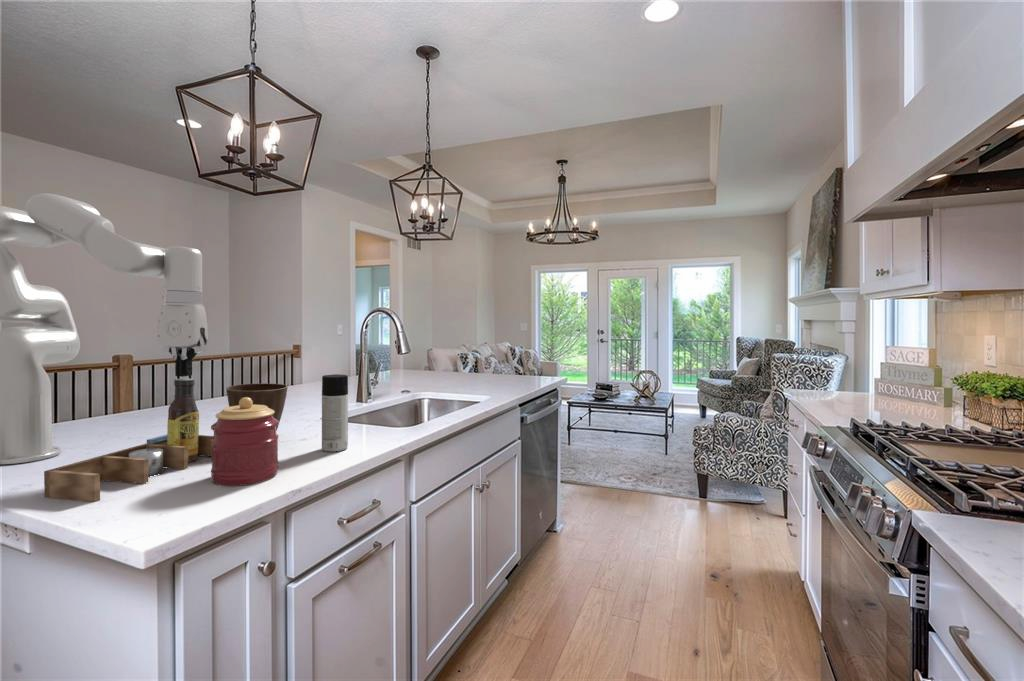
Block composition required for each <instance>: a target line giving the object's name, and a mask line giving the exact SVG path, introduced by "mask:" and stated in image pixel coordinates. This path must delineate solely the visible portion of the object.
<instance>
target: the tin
mask: <svg viewBox="0 0 1024 681" xmlns="http://www.w3.org/2000/svg"><path fill="white" fill-rule="evenodd" d="M129 457H130V458H143V459H148V477H149V478H151V477H150V476H154V475H157V476H159V475H158V474H160V475H162V474H163V473H164V468H163V449H159V448H151V449H142V450H137V451H133V452H131V453H129ZM162 472H163V473H162ZM161 473H162V474H161ZM154 477H155V476H154Z"/></svg>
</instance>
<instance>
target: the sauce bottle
mask: <svg viewBox="0 0 1024 681" xmlns="http://www.w3.org/2000/svg"><path fill="white" fill-rule="evenodd" d="M173 385H174V396H173V397H174V399H173V400H172V402H171V404H170V405H169V406H168V411H167V413H168V415H167V427H166V428H167V429H166V430H167V432H166V433H167V434H166V435H167V445H171V446H185V447H188V463H191V462H194V461H196V460H197V459H198V457H199V456H197V455H198V437H199V435H200V434H199V432H200V430H199V428H200V412H199V410H198V407H197V403H196V400H195V397H194V388H195V387H194V386H195V378H176V379H174V381H173Z"/></svg>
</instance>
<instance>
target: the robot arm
mask: <svg viewBox="0 0 1024 681" xmlns="http://www.w3.org/2000/svg"><path fill="white" fill-rule="evenodd" d="M69 243H73V244H75V245H77V246H79V247H81V248H82V250H83V251H84V252H85V253H86V254H87V256H88V257H89V258H91V259H93V260H95V261H96V262H98V263H100V264H102V265H104V266H106V267H108V268H111V269H112V270H113V271H117V272H119V273H122V274H125V275H129V276H135V277H136V276H137V277H146V278H150V279H151V278H152V279H163V285H164V286H163V288H164V289H163V290H164V291H163V292H164V293H163V295H162V297H161V298H162V299H163V304H161V305H160V308H159V314H158V318H157V327H156V328H157V329H156V342H157V345H159V346H160V347H161V349H162V350H163V352H168V353H170V354H171V357H172V359H173V360H174V361H175V364H174V366H175V368H174V369H175V371H174V374H175V377H180V378H183V377H191V376H193V360H194V359H195V358H196V356H197V355H198V354H199V353H203V352H205V351H206V350H207V349H206V346H207V344H208V339H209V337H208V336H209V332H208V331H209V330H208V320H207V313H206V309H205V308H206V307H205V306H204V305H203V254H202V252H201V251H200V250H199V249H197V248H193V247H189V246H188V247H187V246H176V245H175V246H173V245H172V246H167V247H166V248H164V247H161V246H155V245H151V244H148V243H146V244H145V243H142V242H137V241H136V242H135V241H134V240H130V239H127V238H125V237H123V236H122V235H119V234H117V233H116V231H115V227H114V225H113V223H112V221H111V220H109V219H108V218H106V217H104V216H102V214H101V213H100V212H99V210H97V208H95V207H94V206H92V205H91V204H90V203H87V202H84V201H81V200H78V199H74V198H71V197H67V196H64V195H59V194H57V193H48V192H46V193H45V192H44V193H42V192H41V193H39V194H38V193H37V194H35V195H32V196H30V198H29V199H27V201H26V204H25V210H21V209H17V208H14V207H13V208H12V207H11V206H4V205H0V322H1V323H21V324H22V323H23V324H24V323H25V324H26V323H30V324H32V325H33V326H30V325H29V326H27V325H26V326H10V327H5V328H1V329H0V465H16V464H24V463H31V462H36V461H40V460H46V459H50V458H54V457H55V456H58V455H60V454H61V452H62V449H61V447H59V446H54V445H53V425H52V424H53V421H52V420H53V418H52V417H53V413H52V411H53V410H52V406H53V405H52V384H51V378H50V376H49V375H48V373H47V371H46V370H45V369H44V367H43V365H53V364H55V365H56V364H61V363H67V362H70V361H72V360H73V359H75V358H76V357H77V356H78V354H79V352H80V350H81V340H80V336H79V333H78V332H79V331H78V330H77V326H76V322H75V320H74V316H73V313H72V311H71V308H70V305H69V302H68V300H67V298H66V297H65V296H64V294H63V293H62V292H61V291H59V290H57V289H56V288H54V287H51V286H47V285H43V284H42V285H41V284H31V283H30V281H29V280H28V278H27V276H26V273H25V270H24V267H23V264H22V263H21V262H20V259H18V257H17V256H16V255H15V254H14V252H12V251H11V250H10V249H9V248H8V247H7V246H6V244H10V245H17V246H21V247H29V248H35V249H36V248H37V249H49V248H55V247H58V246H62V245H65V244H69Z"/></svg>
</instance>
